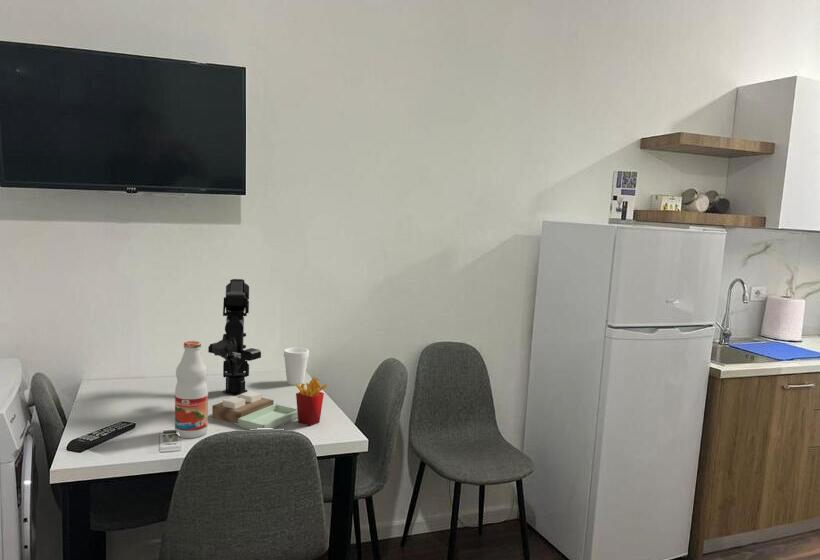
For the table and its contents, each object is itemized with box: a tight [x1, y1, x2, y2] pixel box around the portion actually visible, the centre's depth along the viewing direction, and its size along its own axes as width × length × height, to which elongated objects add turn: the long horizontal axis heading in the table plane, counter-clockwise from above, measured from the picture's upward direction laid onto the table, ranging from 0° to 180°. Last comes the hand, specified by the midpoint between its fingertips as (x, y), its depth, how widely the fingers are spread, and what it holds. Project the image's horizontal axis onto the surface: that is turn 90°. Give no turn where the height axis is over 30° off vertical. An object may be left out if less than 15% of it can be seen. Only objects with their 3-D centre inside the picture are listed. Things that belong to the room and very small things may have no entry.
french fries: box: [295, 377, 328, 427], centre depth 214 cm, size 9×8×15 cm
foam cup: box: [283, 347, 310, 386], centre depth 258 cm, size 10×9×13 cm
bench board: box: [211, 395, 275, 425], centre depth 219 cm, size 12×16×4 cm
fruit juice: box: [174, 340, 209, 439], centre depth 198 cm, size 9×9×28 cm
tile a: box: [239, 390, 263, 403], centre depth 222 cm, size 5×5×2 cm
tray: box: [237, 403, 298, 430], centre depth 214 cm, size 11×19×2 cm, turn 153°
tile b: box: [222, 395, 245, 409], centre depth 215 cm, size 5×5×2 cm
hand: (233, 375), depth 225 cm, fingers closed
